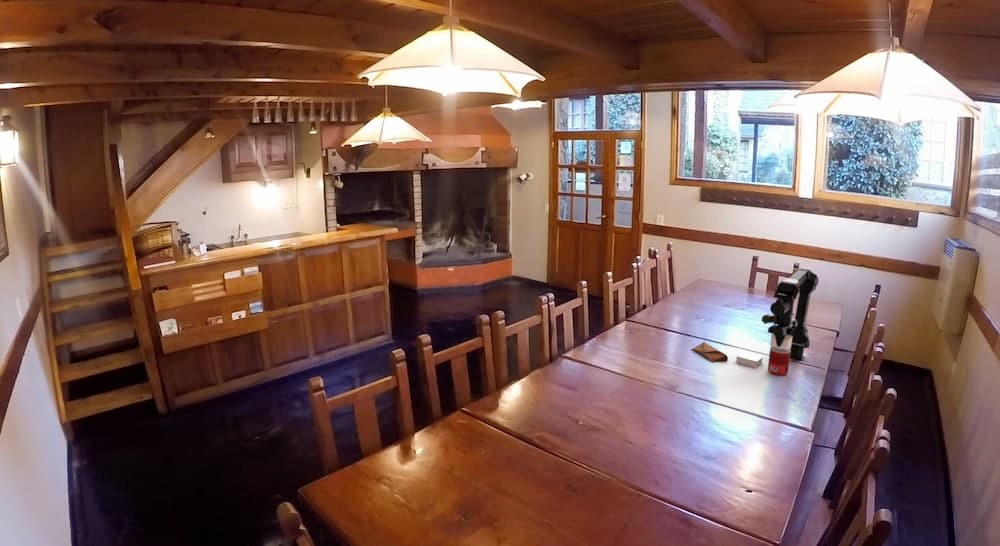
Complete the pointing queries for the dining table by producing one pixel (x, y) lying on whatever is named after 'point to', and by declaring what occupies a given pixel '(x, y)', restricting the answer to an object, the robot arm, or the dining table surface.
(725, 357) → the sunglasses case
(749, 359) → the pale pink chamfered block
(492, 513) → the dining table surface
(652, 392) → the dining table surface
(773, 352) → the canned food
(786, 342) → the cream box
